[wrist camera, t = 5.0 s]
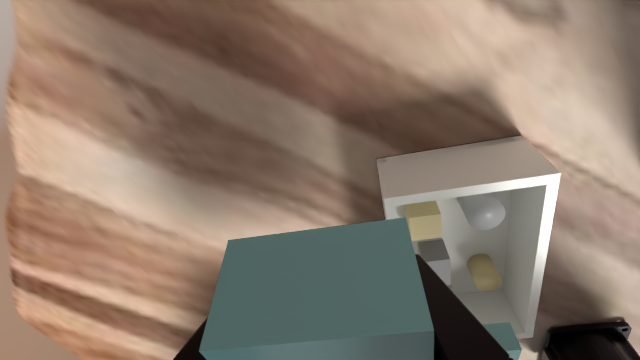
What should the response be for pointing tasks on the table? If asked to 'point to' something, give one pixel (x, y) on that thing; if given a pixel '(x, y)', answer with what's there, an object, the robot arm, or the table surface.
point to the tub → (479, 222)
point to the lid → (326, 298)
